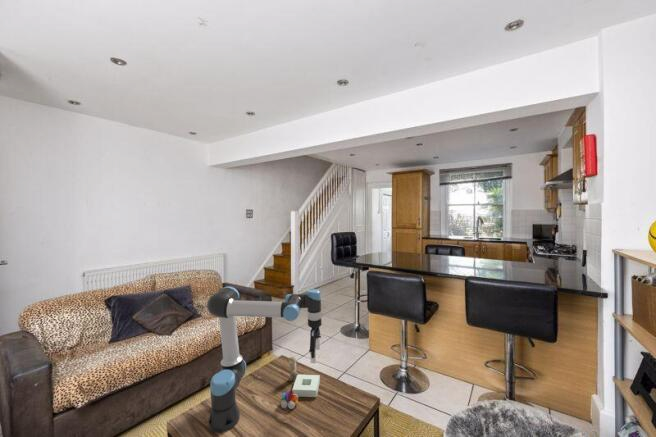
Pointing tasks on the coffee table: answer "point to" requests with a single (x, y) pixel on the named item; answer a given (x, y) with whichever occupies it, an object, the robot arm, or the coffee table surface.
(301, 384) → the socket block
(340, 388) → the coffee table surface
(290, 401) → the rainbow wheeled toy
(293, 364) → the peg
